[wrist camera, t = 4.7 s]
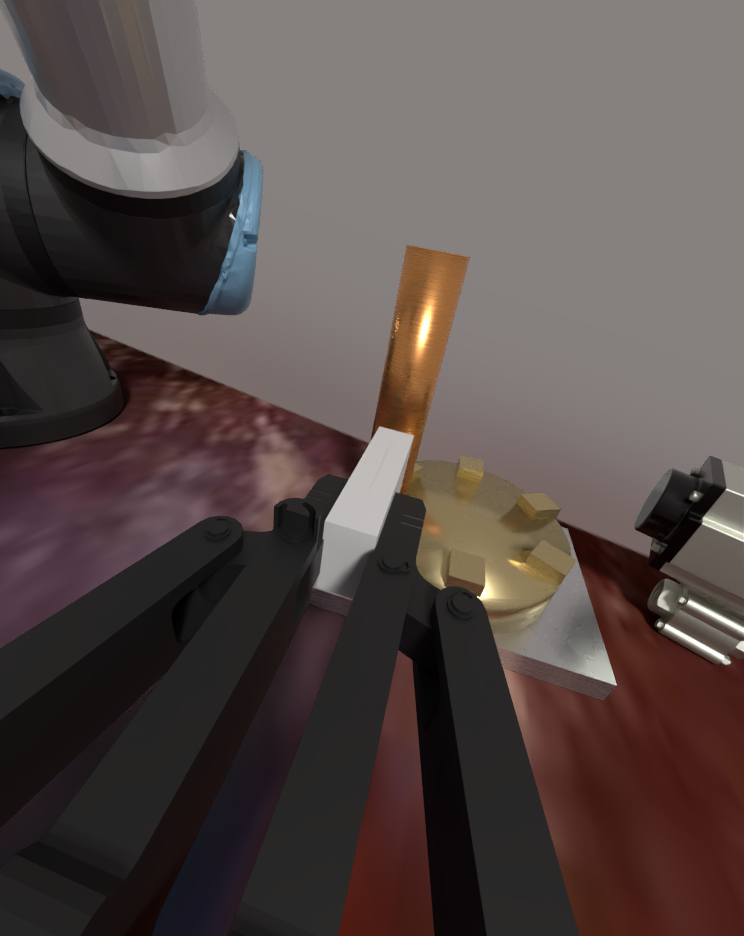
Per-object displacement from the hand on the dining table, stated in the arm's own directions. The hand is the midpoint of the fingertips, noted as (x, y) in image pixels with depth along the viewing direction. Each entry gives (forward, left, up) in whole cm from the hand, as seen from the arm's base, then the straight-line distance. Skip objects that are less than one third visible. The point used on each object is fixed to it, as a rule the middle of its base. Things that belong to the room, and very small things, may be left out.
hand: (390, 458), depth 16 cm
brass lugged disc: (+5, +6, -9) cm, 12 cm away
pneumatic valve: (+21, +6, -11) cm, 25 cm away
